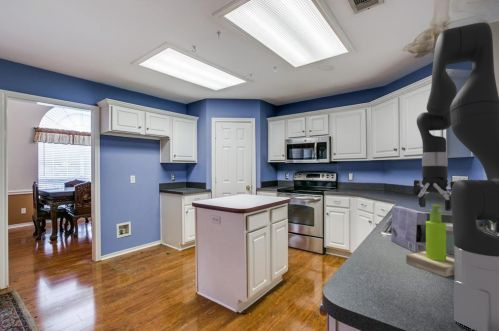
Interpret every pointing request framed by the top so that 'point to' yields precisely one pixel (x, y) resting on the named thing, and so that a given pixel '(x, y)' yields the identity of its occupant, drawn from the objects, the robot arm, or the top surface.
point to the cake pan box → (409, 228)
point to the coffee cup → (449, 239)
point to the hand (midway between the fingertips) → (435, 208)
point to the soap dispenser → (435, 236)
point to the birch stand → (431, 264)
